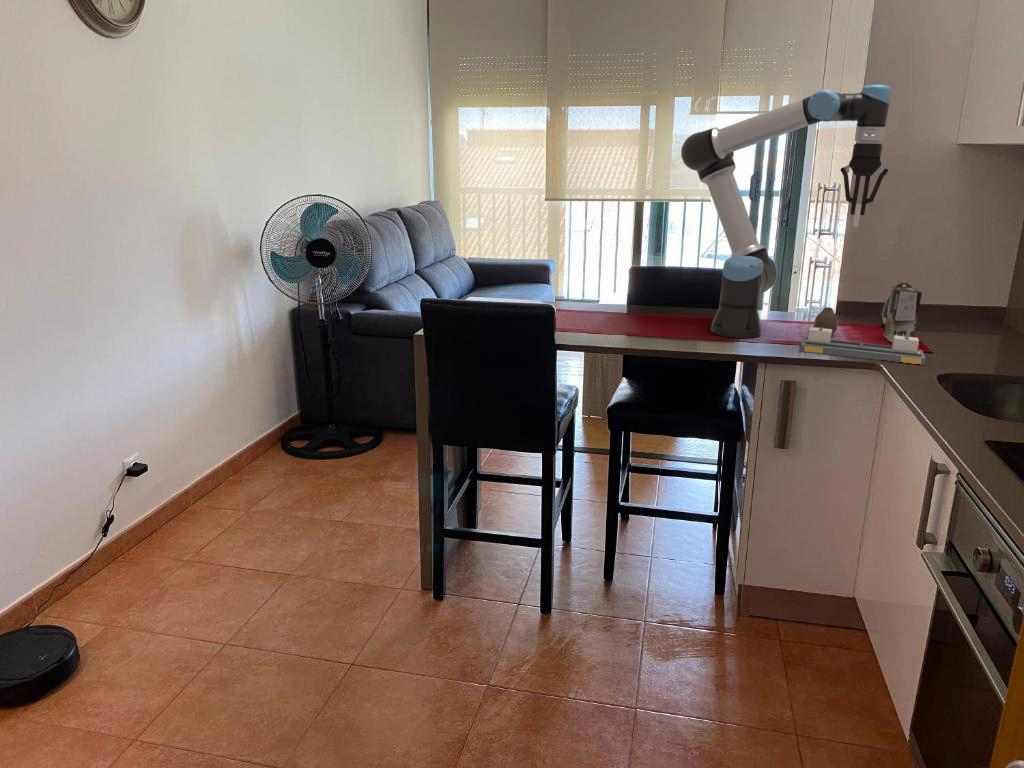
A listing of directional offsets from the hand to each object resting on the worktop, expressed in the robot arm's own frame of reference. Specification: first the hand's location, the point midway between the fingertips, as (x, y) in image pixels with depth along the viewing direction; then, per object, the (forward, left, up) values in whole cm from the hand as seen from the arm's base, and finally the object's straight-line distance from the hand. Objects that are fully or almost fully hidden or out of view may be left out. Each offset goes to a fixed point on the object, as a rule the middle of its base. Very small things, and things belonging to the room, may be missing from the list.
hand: (855, 226), depth 223 cm
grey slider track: (+6, -17, -34) cm, 39 cm away
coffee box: (+17, +6, -35) cm, 39 cm away
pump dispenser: (+18, +26, -35) cm, 47 cm away
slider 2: (+17, -17, -32) cm, 40 cm away
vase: (-4, +3, -35) cm, 35 cm away
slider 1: (-5, -17, -32) cm, 37 cm away
